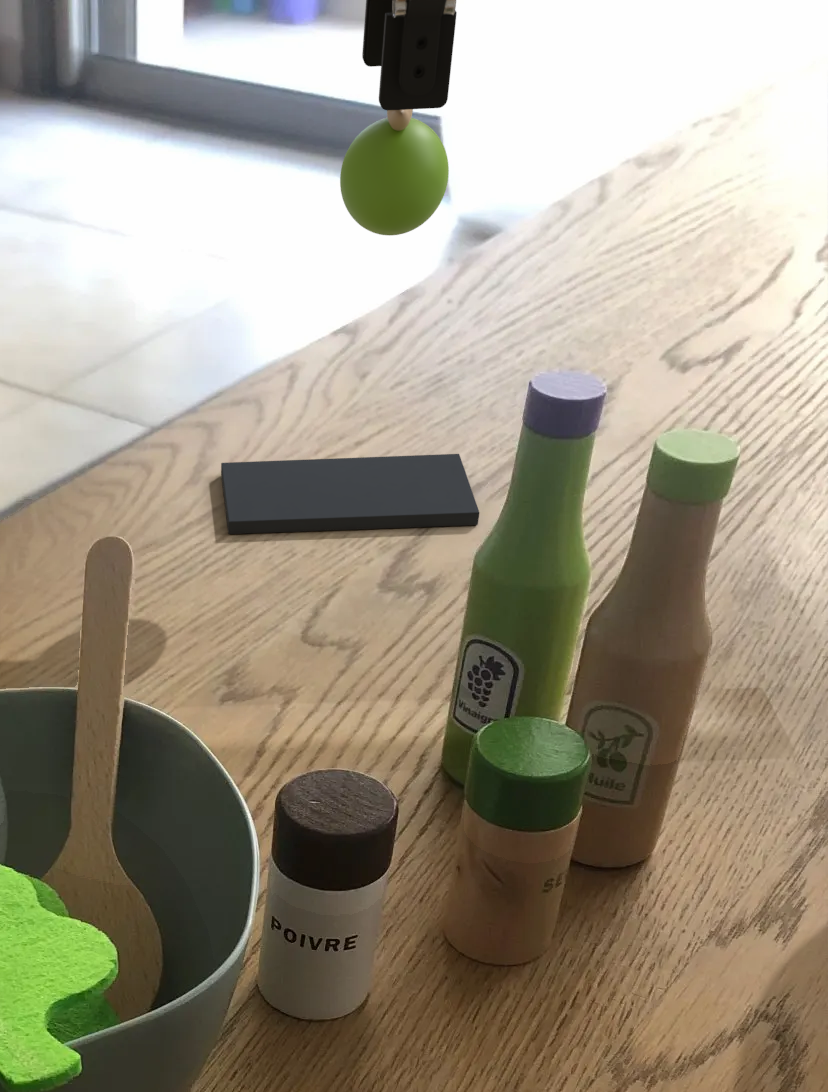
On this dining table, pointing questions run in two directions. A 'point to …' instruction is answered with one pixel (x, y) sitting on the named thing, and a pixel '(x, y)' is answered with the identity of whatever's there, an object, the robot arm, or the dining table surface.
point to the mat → (347, 494)
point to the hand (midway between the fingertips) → (403, 81)
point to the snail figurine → (394, 174)
